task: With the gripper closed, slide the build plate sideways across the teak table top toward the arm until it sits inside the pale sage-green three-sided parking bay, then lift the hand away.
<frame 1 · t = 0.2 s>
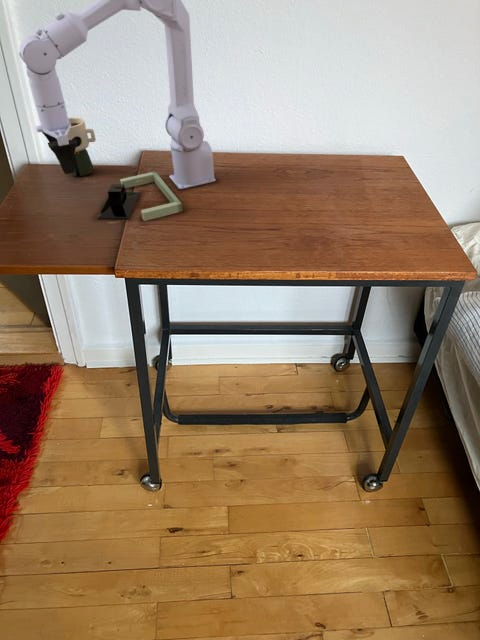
hand: (66, 166, 117), 10 cm above the table, tool pointing down, fingers open, 7 cm apart
character mug: (81, 173, 138), on the table
parking bay: (150, 198, 126), on the table
build plate: (119, 206, 124), on the table
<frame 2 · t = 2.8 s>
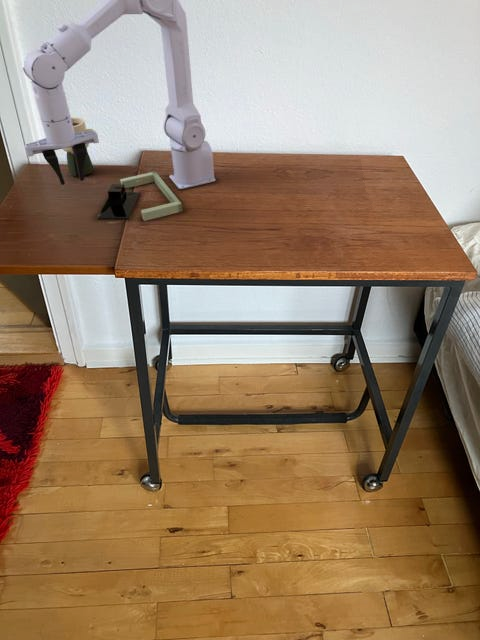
hand: (72, 180, 115), 8 cm above the table, tool pointing down, fingers open, 3 cm apart
nothing on the table moved.
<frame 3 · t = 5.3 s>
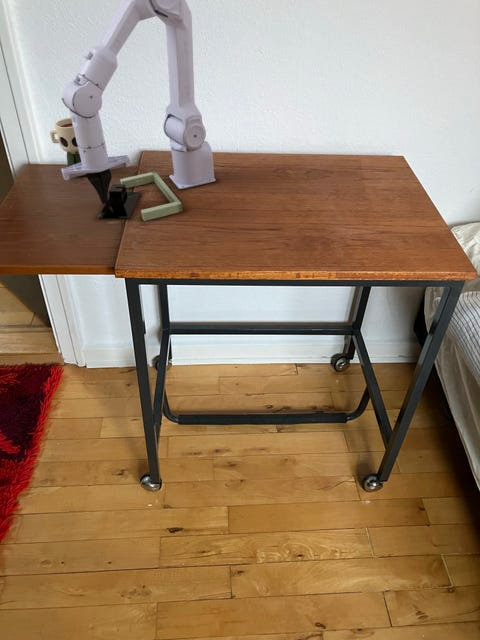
hand: (104, 201, 121), 2 cm above the table, tool pointing down, fingers closed
build plate: (120, 206, 124), on the table, touching gripper
everything else where it was.
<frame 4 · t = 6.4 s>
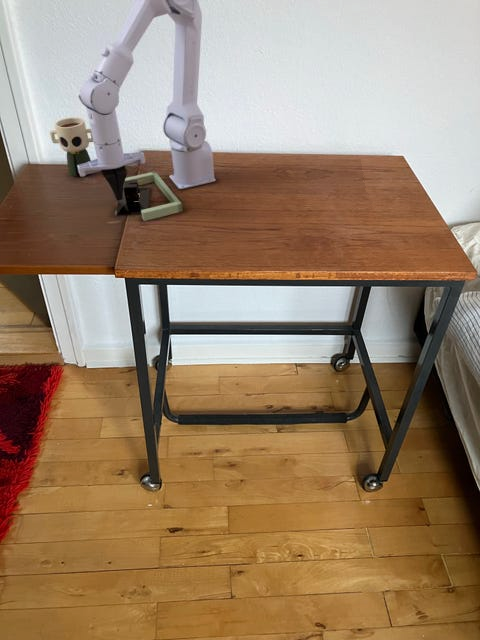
hand: (118, 198, 122), 2 cm above the table, tool pointing down, fingers closed
build plate: (134, 202, 125), on the table, touching gripper
everything else where it was.
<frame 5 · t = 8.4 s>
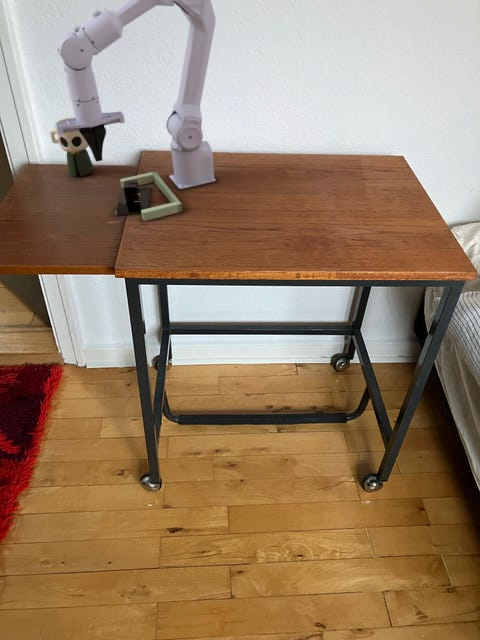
hand: (98, 159, 121), 9 cm above the table, tool pointing down, fingers closed
build plate: (134, 202, 125), on the table
everything else where it was.
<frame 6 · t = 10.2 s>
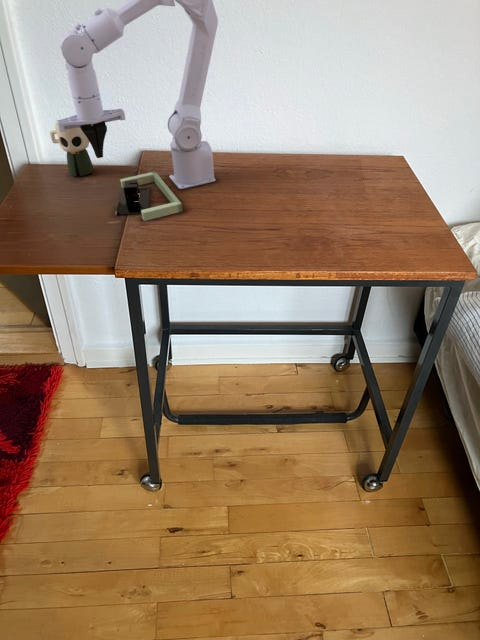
hand: (99, 156, 122), 9 cm above the table, tool pointing down, fingers closed
nothing on the table moved.
at the end: build plate 2.8 cm from the target spot on the parking bay, point 0.0 cm above the parking bay's base; build plate moved 3.5 cm from its start; build plate tilted 0° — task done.
